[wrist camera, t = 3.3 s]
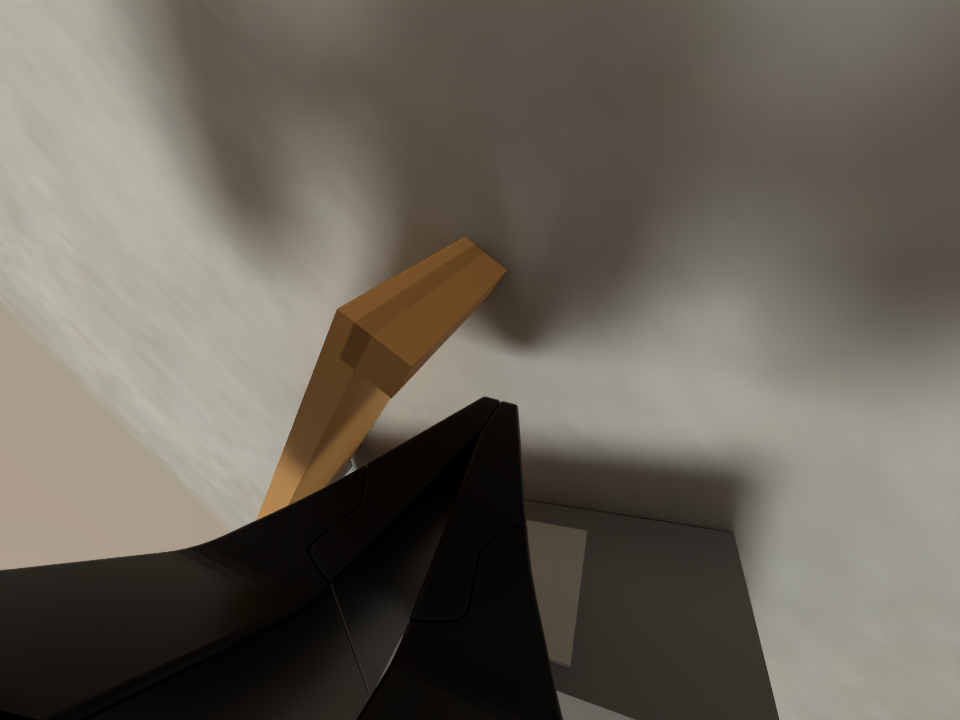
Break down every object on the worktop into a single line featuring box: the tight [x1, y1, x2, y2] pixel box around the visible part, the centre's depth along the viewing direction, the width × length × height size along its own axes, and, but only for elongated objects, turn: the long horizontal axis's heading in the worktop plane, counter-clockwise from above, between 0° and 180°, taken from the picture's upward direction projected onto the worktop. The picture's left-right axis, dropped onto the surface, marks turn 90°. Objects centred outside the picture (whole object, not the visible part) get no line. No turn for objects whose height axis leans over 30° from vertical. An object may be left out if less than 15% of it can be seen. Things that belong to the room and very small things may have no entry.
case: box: [328, 462, 779, 720], centre depth 13 cm, size 15×9×5 cm, turn 102°
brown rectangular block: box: [257, 237, 507, 520], centre depth 10 cm, size 11×1×5 cm, turn 147°
